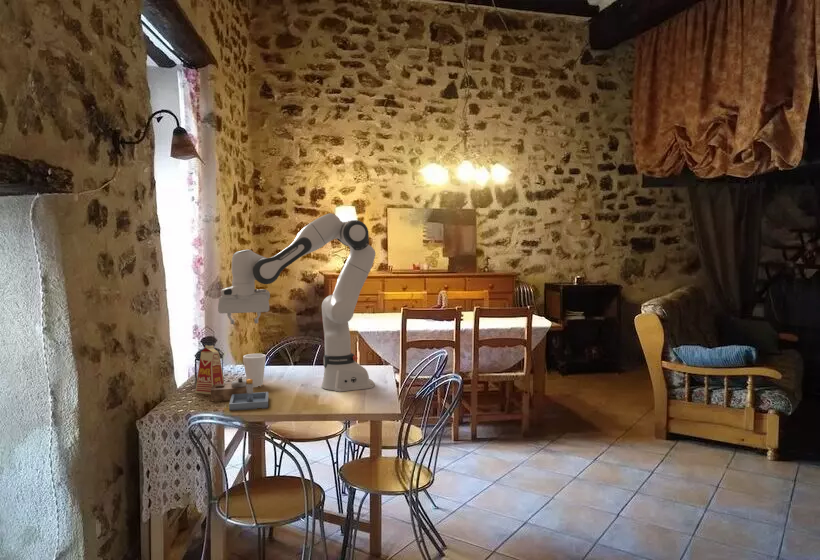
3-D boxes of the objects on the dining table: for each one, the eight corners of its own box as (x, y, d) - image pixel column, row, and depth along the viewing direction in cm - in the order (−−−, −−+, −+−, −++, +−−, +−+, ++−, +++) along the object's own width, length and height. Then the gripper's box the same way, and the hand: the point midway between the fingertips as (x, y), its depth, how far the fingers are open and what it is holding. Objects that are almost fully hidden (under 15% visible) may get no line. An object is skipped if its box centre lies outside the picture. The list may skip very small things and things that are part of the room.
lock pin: (253, 401, 233) (252, 378, 232) (253, 403, 231) (252, 380, 230) (247, 401, 232) (246, 379, 232) (246, 403, 230) (246, 380, 229)
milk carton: (214, 394, 245) (213, 346, 244) (194, 393, 247) (192, 345, 246) (226, 388, 254) (224, 342, 253) (206, 387, 256) (204, 341, 254)
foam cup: (265, 381, 265) (264, 352, 264) (267, 387, 257) (266, 357, 255) (243, 383, 262) (242, 354, 261) (244, 388, 254) (243, 358, 252)
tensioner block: (250, 393, 246) (249, 375, 246) (249, 398, 239) (248, 380, 238) (213, 395, 243) (212, 377, 243) (211, 401, 236) (210, 382, 235)
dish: (268, 397, 240) (268, 391, 240) (267, 408, 226) (267, 401, 226) (232, 400, 237) (232, 394, 237) (229, 410, 223) (229, 404, 223)
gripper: (269, 288, 249) (270, 321, 250) (218, 289, 244) (219, 323, 245) (269, 289, 242) (270, 323, 244) (216, 291, 238) (218, 325, 239)
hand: (244, 323), depth 244 cm, fingers open, 8 cm apart
